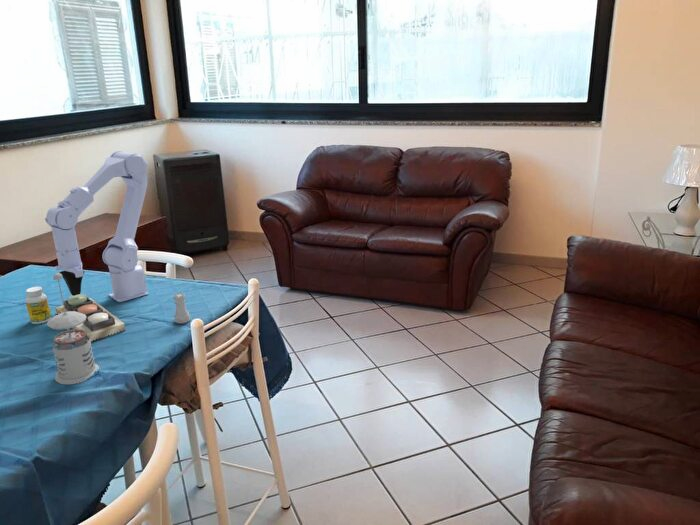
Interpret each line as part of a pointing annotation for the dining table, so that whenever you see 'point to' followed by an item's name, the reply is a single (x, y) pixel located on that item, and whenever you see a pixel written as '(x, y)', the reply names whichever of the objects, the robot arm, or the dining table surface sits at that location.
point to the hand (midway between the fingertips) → (76, 294)
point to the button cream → (97, 317)
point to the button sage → (77, 299)
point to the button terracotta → (87, 308)
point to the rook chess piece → (181, 309)
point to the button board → (98, 328)
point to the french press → (77, 359)
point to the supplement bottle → (37, 305)
